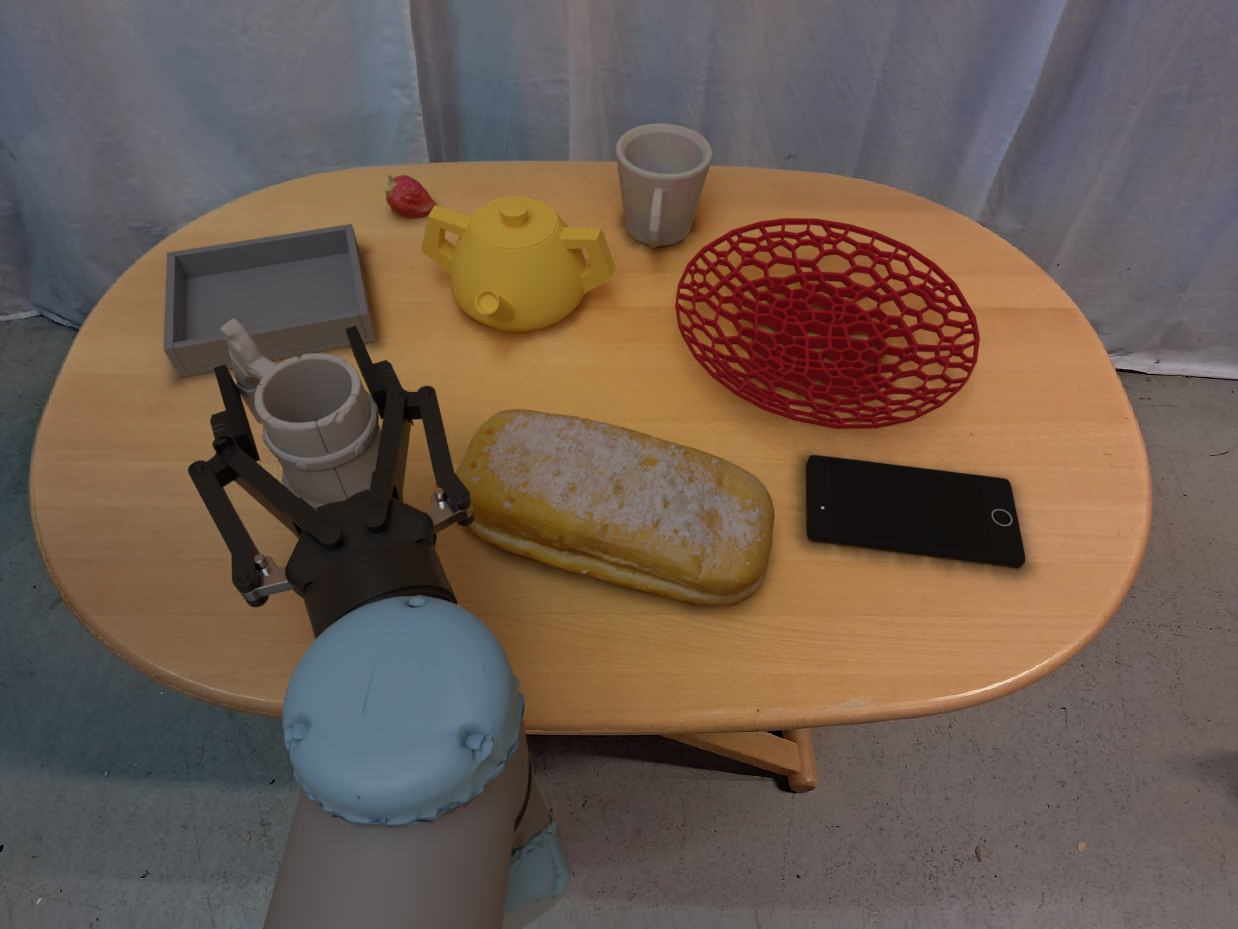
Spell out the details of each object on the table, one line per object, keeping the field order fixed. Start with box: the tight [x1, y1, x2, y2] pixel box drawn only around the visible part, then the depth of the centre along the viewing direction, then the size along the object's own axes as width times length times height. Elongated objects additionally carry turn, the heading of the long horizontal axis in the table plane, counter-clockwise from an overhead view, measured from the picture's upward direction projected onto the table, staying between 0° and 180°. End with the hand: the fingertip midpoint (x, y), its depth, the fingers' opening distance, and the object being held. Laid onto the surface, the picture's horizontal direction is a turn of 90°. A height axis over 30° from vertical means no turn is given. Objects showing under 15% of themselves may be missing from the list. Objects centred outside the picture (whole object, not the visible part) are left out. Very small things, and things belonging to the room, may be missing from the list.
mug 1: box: [221, 319, 382, 511], centre depth 53 cm, size 8×12×12 cm, turn 56°
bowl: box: [674, 217, 981, 430], centre depth 80 cm, size 29×30×5 cm
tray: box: [163, 223, 377, 378], centre depth 81 cm, size 19×15×4 cm
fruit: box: [384, 173, 438, 218], centre depth 92 cm, size 4×6×5 cm
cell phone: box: [805, 454, 1026, 569], centre depth 70 cm, size 9×18×1 cm, turn 82°
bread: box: [455, 408, 776, 608], centre depth 65 cm, size 13×26×8 cm, turn 76°
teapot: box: [420, 196, 616, 333], centre depth 80 cm, size 20×18×11 cm
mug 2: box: [615, 122, 714, 249], centre depth 88 cm, size 10×15×10 cm
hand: (292, 360), depth 55 cm, fingers closed on mug 1, 8 cm apart
